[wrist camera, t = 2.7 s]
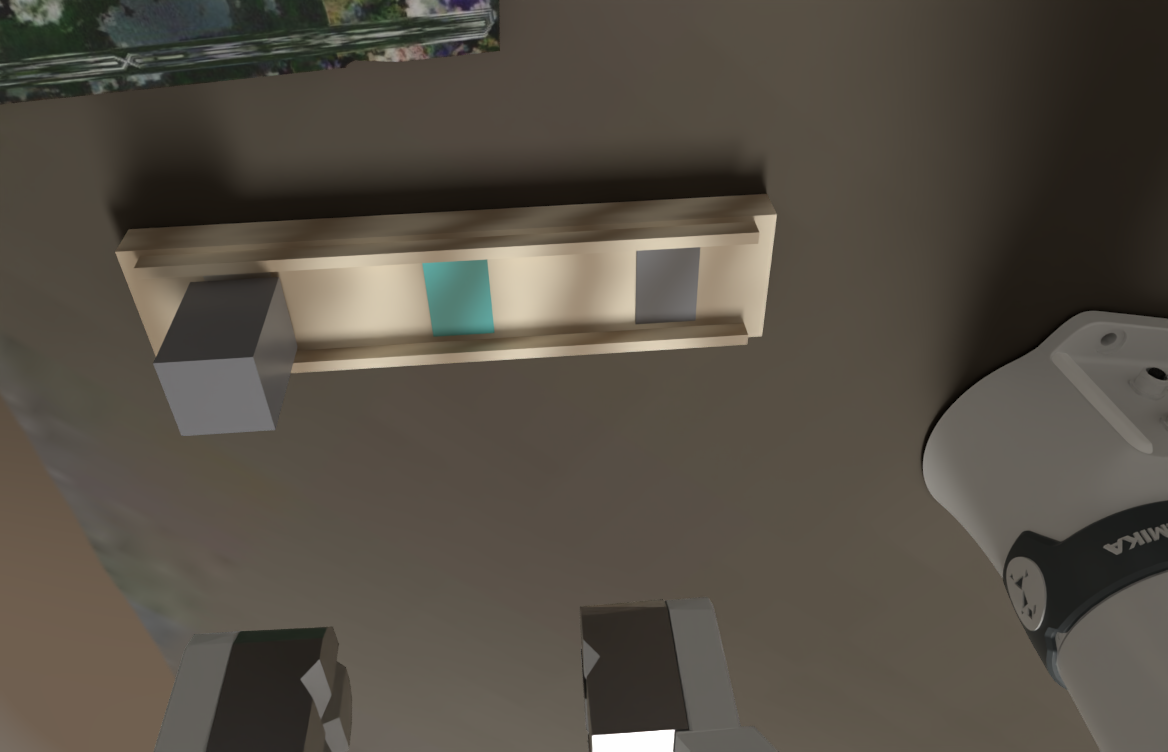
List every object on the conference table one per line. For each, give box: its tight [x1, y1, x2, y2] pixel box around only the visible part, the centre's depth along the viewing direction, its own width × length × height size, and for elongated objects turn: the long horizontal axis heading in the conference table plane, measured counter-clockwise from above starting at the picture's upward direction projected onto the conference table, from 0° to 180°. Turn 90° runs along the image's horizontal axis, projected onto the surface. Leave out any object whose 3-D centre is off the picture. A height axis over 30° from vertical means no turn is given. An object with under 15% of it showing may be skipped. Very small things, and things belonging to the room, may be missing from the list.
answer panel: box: [115, 194, 777, 373], centre depth 45 cm, size 30×7×3 cm, turn 91°
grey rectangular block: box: [153, 277, 298, 436], centre depth 42 cm, size 4×4×6 cm
